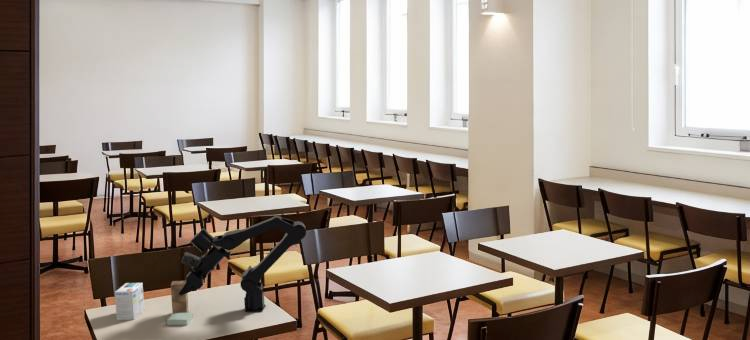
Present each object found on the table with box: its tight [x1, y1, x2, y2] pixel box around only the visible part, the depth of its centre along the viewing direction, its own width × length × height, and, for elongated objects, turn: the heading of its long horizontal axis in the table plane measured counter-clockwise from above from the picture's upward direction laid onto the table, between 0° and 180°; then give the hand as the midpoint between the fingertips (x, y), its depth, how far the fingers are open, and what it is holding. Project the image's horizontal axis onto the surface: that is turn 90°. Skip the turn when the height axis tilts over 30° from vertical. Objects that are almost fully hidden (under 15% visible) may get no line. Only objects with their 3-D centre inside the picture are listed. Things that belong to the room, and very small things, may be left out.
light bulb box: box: [114, 282, 145, 321], centre depth 253 cm, size 11×7×11 cm, turn 178°
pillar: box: [170, 279, 190, 314], centre depth 252 cm, size 5×5×12 cm
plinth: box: [166, 312, 194, 326], centre depth 245 cm, size 7×7×2 cm
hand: (181, 290), depth 252 cm, fingers open, 9 cm apart
